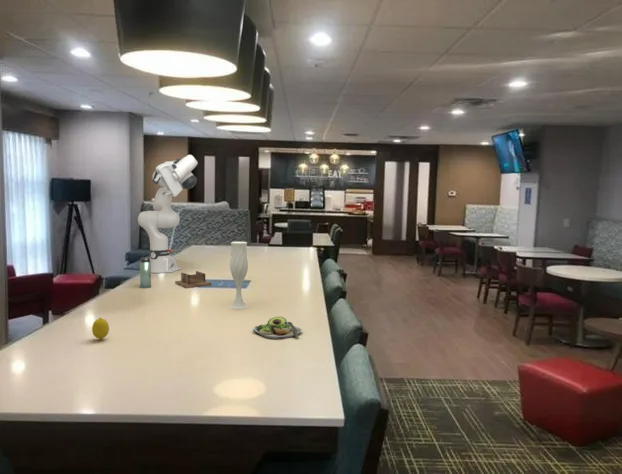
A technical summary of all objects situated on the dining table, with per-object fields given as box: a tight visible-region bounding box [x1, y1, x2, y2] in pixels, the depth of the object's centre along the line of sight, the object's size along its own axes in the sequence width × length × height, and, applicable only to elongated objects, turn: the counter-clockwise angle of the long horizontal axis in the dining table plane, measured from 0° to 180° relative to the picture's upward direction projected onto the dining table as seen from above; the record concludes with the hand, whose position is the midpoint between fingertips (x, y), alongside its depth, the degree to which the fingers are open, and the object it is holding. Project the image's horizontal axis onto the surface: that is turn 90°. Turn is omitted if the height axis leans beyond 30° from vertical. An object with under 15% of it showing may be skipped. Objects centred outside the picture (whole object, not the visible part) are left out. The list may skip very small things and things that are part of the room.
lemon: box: [91, 317, 110, 341], centre depth 181 cm, size 6×6×8 cm
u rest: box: [174, 270, 212, 289], centre depth 284 cm, size 15×15×6 cm
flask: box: [139, 256, 152, 289], centre depth 274 cm, size 6×6×16 cm
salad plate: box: [252, 316, 302, 340], centre depth 193 cm, size 19×18×5 cm
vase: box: [229, 241, 249, 310], centre depth 232 cm, size 9×8×30 cm
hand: (159, 188), depth 286 cm, fingers open, 8 cm apart
